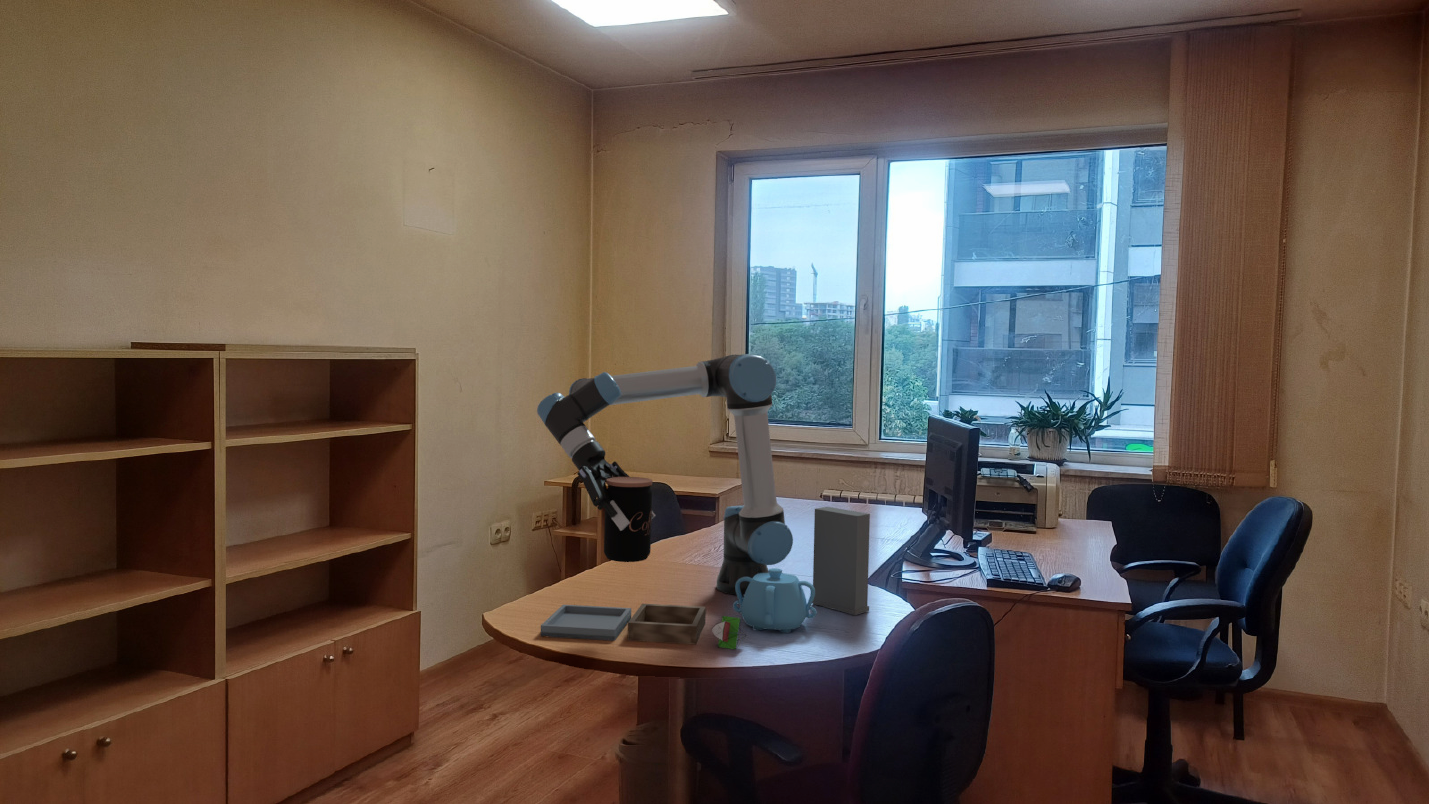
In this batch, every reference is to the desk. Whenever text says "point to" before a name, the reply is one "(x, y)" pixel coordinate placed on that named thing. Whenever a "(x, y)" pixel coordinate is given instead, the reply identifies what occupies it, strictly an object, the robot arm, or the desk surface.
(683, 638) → the walnut collar
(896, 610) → the desk surface
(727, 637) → the geometric puzzle
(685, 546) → the desk surface
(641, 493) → the coffee jar
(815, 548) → the upright grey slab box
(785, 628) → the decorative pot
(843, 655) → the desk surface
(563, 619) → the grey tray
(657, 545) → the desk surface
